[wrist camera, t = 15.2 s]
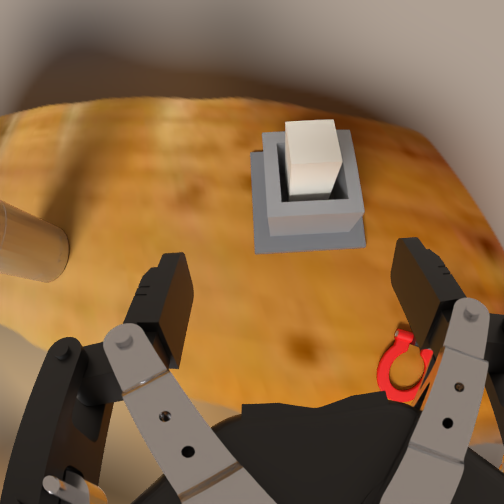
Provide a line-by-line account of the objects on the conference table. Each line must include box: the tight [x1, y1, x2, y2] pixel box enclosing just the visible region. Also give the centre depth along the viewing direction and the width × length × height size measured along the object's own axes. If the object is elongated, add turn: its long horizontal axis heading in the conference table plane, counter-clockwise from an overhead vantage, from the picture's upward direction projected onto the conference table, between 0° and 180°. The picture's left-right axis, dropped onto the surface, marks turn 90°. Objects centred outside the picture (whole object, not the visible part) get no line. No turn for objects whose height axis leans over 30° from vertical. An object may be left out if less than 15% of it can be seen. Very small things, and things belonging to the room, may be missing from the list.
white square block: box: [285, 119, 343, 202], centre depth 33 cm, size 4×4×14 cm
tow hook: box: [377, 329, 433, 402], centre depth 29 cm, size 8×13×9 cm
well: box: [250, 130, 366, 254], centre depth 37 cm, size 14×14×9 cm
